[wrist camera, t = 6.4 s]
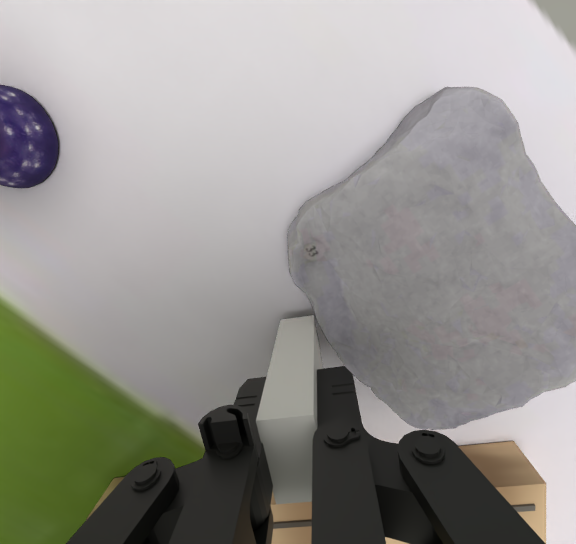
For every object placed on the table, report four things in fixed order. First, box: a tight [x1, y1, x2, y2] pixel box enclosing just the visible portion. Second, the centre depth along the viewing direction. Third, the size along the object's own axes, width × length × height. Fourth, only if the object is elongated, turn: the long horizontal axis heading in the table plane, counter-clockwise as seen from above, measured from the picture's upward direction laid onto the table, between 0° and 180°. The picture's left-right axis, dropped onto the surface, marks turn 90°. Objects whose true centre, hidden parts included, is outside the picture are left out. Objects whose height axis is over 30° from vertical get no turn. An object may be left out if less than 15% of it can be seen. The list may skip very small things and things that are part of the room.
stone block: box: [287, 87, 576, 430], centre depth 14 cm, size 12×5×10 cm
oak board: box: [86, 441, 546, 544], centre depth 18 cm, size 22×8×3 cm, turn 100°
